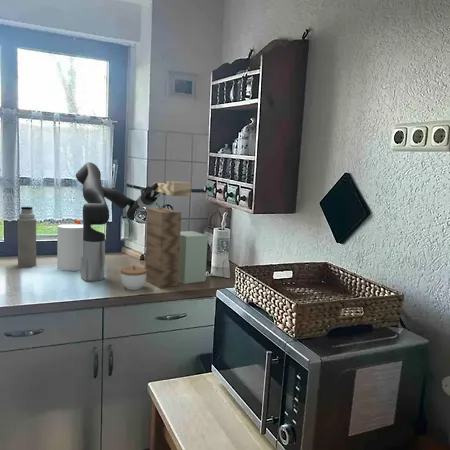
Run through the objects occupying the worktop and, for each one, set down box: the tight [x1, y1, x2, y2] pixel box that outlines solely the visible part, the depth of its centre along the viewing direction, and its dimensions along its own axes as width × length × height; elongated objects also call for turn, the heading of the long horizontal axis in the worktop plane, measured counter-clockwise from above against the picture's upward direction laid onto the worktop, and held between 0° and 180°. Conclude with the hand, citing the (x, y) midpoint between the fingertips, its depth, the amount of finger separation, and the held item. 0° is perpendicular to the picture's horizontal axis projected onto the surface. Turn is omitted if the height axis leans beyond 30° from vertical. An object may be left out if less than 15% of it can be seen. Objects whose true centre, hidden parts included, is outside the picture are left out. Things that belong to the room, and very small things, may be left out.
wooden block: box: [152, 181, 192, 197], centre depth 212 cm, size 24×9×6 cm, turn 36°
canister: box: [56, 223, 83, 271], centre depth 214 cm, size 14×14×20 cm
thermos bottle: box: [17, 206, 37, 268], centre depth 212 cm, size 8×8×28 cm
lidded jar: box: [120, 265, 147, 291], centre depth 187 cm, size 11×11×9 cm
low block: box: [178, 230, 209, 285], centre depth 204 cm, size 11×13×21 cm
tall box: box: [144, 207, 182, 289], centre depth 195 cm, size 9×14×32 cm, turn 35°
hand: (161, 184), depth 218 cm, fingers closed on wooden block, 4 cm apart
